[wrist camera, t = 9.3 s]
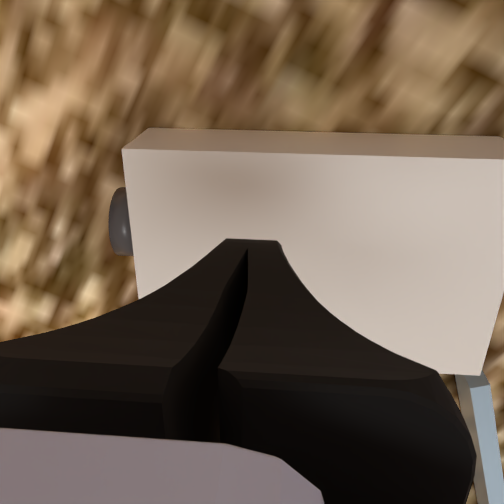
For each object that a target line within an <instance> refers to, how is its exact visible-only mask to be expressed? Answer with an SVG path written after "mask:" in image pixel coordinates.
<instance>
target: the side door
mask: <svg viewBox="0 0 504 504" xmlns="http://www.w3.org/2000/svg"><path fill="white" fill-rule="evenodd" d="M455 379H456V385H457V390H458V396H459V401H460V407H461V413H462V416H463V418H464V420H465V422H466V425H467V427H468V430H469V432H470V434H471V437H472V440H473V444H474V447H475V451H476V455H477V459H476V468H475V476H474V479H473V480H474V485H475V491H476V497H477V502H478V504H504V480H503V473H502V466H501V459H500V451H499V444H498V437H497V430H496V423H495V416H494V409H493V402H492V395H491V388H490V384H489V382H488V380H487V378H486V376H485V374H484V372H483V371H481V374H480V376H476V375H459V374H455Z"/></svg>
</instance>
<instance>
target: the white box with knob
mask: <svg viewBox="0 0 504 504" xmlns="http://www.w3.org/2000/svg"><path fill="white" fill-rule="evenodd" d="M122 158H123V166H124V175H125V184H126V188H122V187H120V188H118V189H117V190H116V191H115V193H114V195H113V198H112V201H111V205H110V210H109V236H110V241H111V245H112V248H113V250H114V252H115V253H116V254H117V255H122V256H134V262H135V271H136V280H137V289H138V297H139V299H141V298H143V297H145V296H146V295H148V294H150V293H152V292H154V291H156V290H157V289H159V288H161V287H163V286H164V285H166V284H168V283H169V282H170V281H172V280H173V279H175V278H176V277H178V276H179V275H181V274H182V273H183V272H185V271H186V270H188V269H189V268H191V267H192V266H193V265H195V264H196V263H197V262H198V261H200V260H201V259H202V258H203V257H205V256H206V255H207V254H208V253H209V252H211V251H212V250H213V249H214V248H215V247H216V246H218V245H219V244H220V243H221V242H222V241H224V240H225V239H226V238H231V239H255V240H277V241H278V242H279V243H280V244H281V245H282V249H283V252H284V254H285V256H286V258H287V260H288V262H289V264H290V265H291V267H292V268H293V270H294V271H295V273H296V274H297V276H298V277H299V279H300V280H301V282H302V283H303V284H304V286H305V287H306V288H307V289H308V290H309V292H310V293H311V294H312V295H313V296H314V297H315V299H316V300H317V301H318V302H319V303H320V304H321V305H322V306H324V307H325V308H326V309H327V310H328V311H329V312H330V313H331V314H333V315H334V316H335V317H336V318H338V319H339V320H340V321H342V322H343V323H345V324H346V325H347V326H349V327H350V328H352V329H353V330H355V331H356V332H358V333H359V334H361V335H362V336H364V337H366V338H367V339H369V340H371V341H373V342H375V343H376V344H378V345H380V346H382V347H384V348H386V349H388V350H390V351H392V352H394V353H396V354H398V355H401V356H403V357H405V358H408V359H410V360H413V361H415V362H417V363H420V364H422V365H425V366H427V367H429V368H432V369H434V370H436V371H437V372H438V373H442V374H459V375H476V376H480V374H481V371H482V367H483V364H484V360H485V357H486V353H487V349H488V346H489V342H490V339H491V335H492V332H493V328H494V325H495V321H496V318H497V314H498V311H499V307H500V303H501V300H502V296H503V293H504V139H503V138H501V137H500V136H463V135H423V134H383V133H343V132H304V131H264V130H224V129H184V128H148V129H147V130H145V131H144V132H143V133H141V134H140V135H139V136H137V137H136V138H135V139H134V140H132V141H131V142H130V143H128V144H127V145H126V146H124V147H123V148H122Z"/></svg>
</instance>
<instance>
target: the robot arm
mask: <svg viewBox="0 0 504 504" xmlns="http://www.w3.org/2000/svg"><path fill="white" fill-rule="evenodd" d="M476 459H477V455H476V451H475V447H474V444H473V440H472V437H471V434H470V432H469V430H468V427H467V425H466V422H465V420H464V418H463V416H462V413H461V411H460V410H459V408H458V406H457V404H456V402H455V400H454V399H453V397H452V395H451V393H450V392H449V390H448V389H447V387H446V385H445V384H444V382H443V380H442V379H441V377H440V375H439V373H438V372H437V371H436V370H434V369H432V368H429V367H427V366H425V365H422V364H420V363H417V362H415V361H413V360H410V359H408V358H405V357H403V356H401V355H398V354H396V353H394V352H392V351H390V350H388V349H386V348H384V347H382V346H380V345H378V344H376V343H375V342H373V341H371V340H369V339H367V338H366V337H364V336H362V335H361V334H359V333H358V332H356V331H355V330H353V329H352V328H350V327H349V326H347V325H346V324H345V323H343V322H342V321H340V320H339V319H338V318H336V317H335V316H334V315H333V314H331V313H330V312H329V311H328V310H327V309H326V308H325V307H324V306H322V305H321V304H320V303H319V302H318V301H317V300H316V299H315V297H314V296H313V295H312V294H311V293H310V292H309V290H308V289H307V288H306V287H305V286H304V284H303V283H302V282H301V280H300V279H299V277H298V276H297V274H296V273H295V271H294V270H293V268H292V267H291V265H290V264H289V262H288V260H287V258H286V256H285V254H284V252H283V249H282V245H281V244H280V243H279V242H278V241H277V240H255V239H231V238H226V239H225V240H224V241H222V242H221V243H220V244H219V245H218V246H216V247H215V248H214V249H213V250H212V251H211V252H209V253H208V254H207V255H206V256H205V257H203V258H202V259H201V260H200V261H198V262H197V263H196V264H195V265H193V266H192V267H191V268H189V269H188V270H186V271H185V272H183V273H182V274H181V275H179V276H178V277H176V278H175V279H173V280H172V281H170V282H169V283H168V284H166V285H164V286H163V287H161V288H159V289H157V290H156V291H154V292H152V293H150V294H148V295H146V296H145V297H143V298H141V299H139V300H137V301H135V302H133V303H130V304H128V305H126V306H123V307H121V308H118V309H116V310H113V311H111V312H108V313H106V314H104V315H101V316H99V317H96V318H93V319H90V320H87V321H84V322H81V323H78V324H75V325H71V326H68V327H64V328H61V329H57V330H54V331H50V332H46V333H42V334H37V335H32V336H28V337H23V338H18V339H13V340H8V341H4V342H0V504H466V501H467V498H468V495H469V492H470V489H471V485H472V482H473V479H474V476H475V468H476Z"/></svg>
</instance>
